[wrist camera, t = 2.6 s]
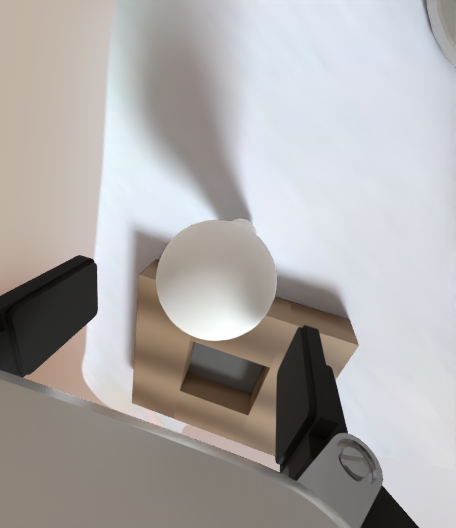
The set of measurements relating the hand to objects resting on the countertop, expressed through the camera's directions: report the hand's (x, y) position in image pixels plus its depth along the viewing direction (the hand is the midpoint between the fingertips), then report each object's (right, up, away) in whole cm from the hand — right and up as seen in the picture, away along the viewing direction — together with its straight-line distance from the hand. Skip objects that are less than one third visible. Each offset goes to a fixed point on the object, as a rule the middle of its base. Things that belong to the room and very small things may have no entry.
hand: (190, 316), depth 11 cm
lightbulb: (+3, +5, +9) cm, 11 cm away
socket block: (+2, -8, +15) cm, 17 cm away
